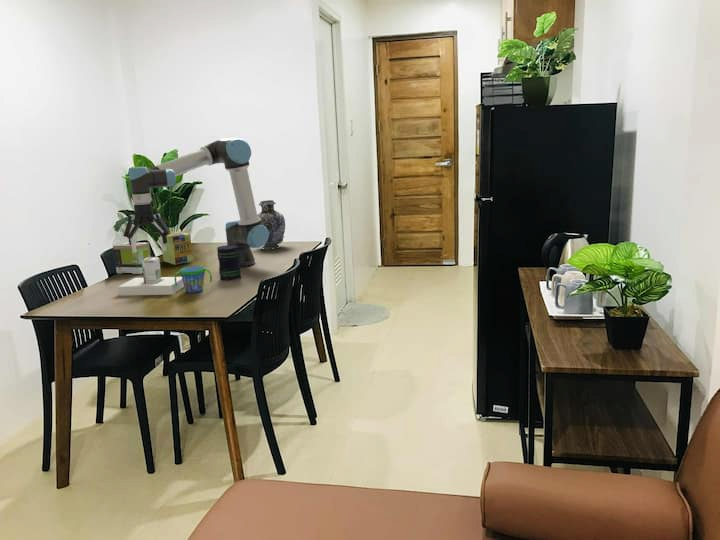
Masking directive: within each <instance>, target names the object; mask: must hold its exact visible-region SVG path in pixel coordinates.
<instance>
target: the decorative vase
mask: <svg viewBox="0 0 720 540" xmlns="http://www.w3.org/2000/svg"><path fill="white" fill-rule="evenodd" d="M275 205H276V202H275V201H274V200H272V199H268V200H262V201H260V202H259V203H258V206H260V207H261V212H257V216H258V217H260V218H261V220H262V225H264V226H265V227H266V228H267V229H268V232H269V237H268V240H267V242H266V244H265V245H264V246H262V247H261V248H264V249H272V248H278V247H279V246H280V244H281V243H283V242H284V238H285V232H286V220H285V217H284V215H283V214H282V213H281V212H279V211H276V210H275ZM264 249H263V250H264Z"/></svg>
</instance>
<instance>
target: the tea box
mask: <svg viewBox="0 0 720 540" xmlns="http://www.w3.org/2000/svg"><path fill="white" fill-rule="evenodd" d="M112 248H113V255H114V262H115V269H116V274H122V273H132V274H131V275H142V273H143V268H142V260H144V259H146V258H149V257H152V255H151V247H150V242H136V249H137V252H135V253H132V246H131V245H130V244H129V241H128V242H123V243H118V244H114V245H112Z"/></svg>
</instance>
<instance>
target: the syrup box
mask: <svg viewBox="0 0 720 540" xmlns="http://www.w3.org/2000/svg"><path fill="white" fill-rule="evenodd" d="M142 268H143V277H142V278H144V284H158V283H159V282H161V277H162V273H161V263H160V258H159V257H156V256H151V257H149V258H146V259H144V260H142Z"/></svg>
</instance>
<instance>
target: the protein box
mask: <svg viewBox="0 0 720 540" xmlns="http://www.w3.org/2000/svg"><path fill="white" fill-rule="evenodd" d="M166 237H167V243H166V251H164V252H162V257H163V262H164V263H169V264H170V265H174V266H177V265H178V264H179V265H184V264H188V263H189V264H190V263H193V262H194V256H193V247H192V239H191V233H187V232H184V231H183V232H182V231H170V234H169V235H167V236H166ZM183 263H184V264H183Z"/></svg>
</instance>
